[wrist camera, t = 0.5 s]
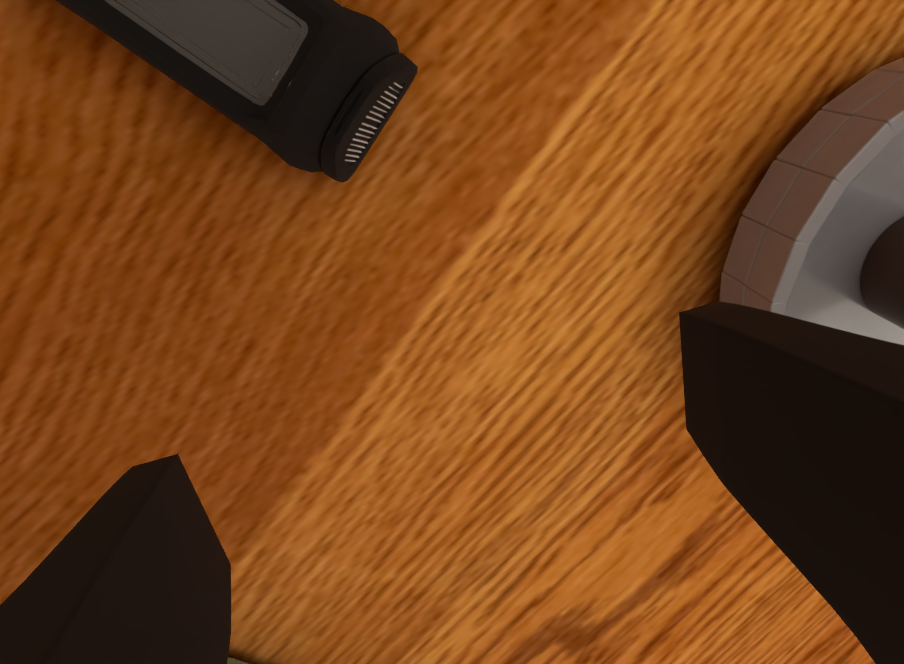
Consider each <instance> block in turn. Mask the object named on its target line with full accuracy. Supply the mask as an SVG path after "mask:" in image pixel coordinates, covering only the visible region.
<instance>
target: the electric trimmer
mask: <svg viewBox="0 0 904 664" xmlns="http://www.w3.org/2000/svg"><path fill="white" fill-rule="evenodd" d="M56 1H57V2H59V3H61V4H62V5H64V6H65V7H67V8H68V9H70V10H71V11H73V12H74V13H76V14H77V15H79V16H80V17H82V18H83V19H85V20H86V21H88V22H90V23H91V24H93V25H94V26H96V27H97V28H98V29H100V30H101V31H103V32H104V33H106V34H107V35H109V36H110V37H112V38H113V39H114V40H116V41H117V42H119V43H120V44H122V45H123V46H125V47H126V48H128V49H129V50H130V51H132V52H133V53H135V54H136V55H138V56H139V57H141V58H142V59H144V60H145V61H146V62H148V63H149V64H151V65H152V66H154V67H155V68H157V69H158V70H160V71H161V72H162V73H164V74H165V75H167V76H168V77H170V78H171V79H173V80H174V81H176V82H177V83H178V84H180V85H181V86H183V87H184V88H186V89H187V90H189V91H190V92H192V93H193V94H194V95H196V96H197V97H199V98H200V99H202V100H203V101H205V102H206V103H208V104H209V105H210V106H212V107H213V108H215V109H216V110H218V111H219V112H221V113H222V114H224V115H225V116H226V117H228V118H229V119H231V120H232V121H234V122H235V123H237V124H238V125H240V126H241V127H242V128H244V129H245V130H247V131H248V132H250V133H251V134H253V135H254V136H256V137H257V138H258V139H260V140H261V141H263V142H264V143H265V144H266V145H267V146H268V147H270V148H271V149H272V150H273V151H274V152H275V153H276V154H277V155H278V156H280V157H281V158H282V159H283V160H284V161H285V162H286V163H288V164H289V165H291V166H294V167H296V168H299V169H303V170H306V171H309V172H321V171H323V172H324V173H325V174H326V175H328V176H330V177H331V178H333V179H334V180H337V181H340V182H345V181H347V180H348V179H349V178H350V177H351V176H352V175H353V173H354V172H355V171H356V169H357V167H358V166H359V164H360V163H361V161H362V160H363V158H364V157H365V155H366V153H367V152H368V150H369V149H370V147H371V146H372V144H373V142H374V141H375V139H376V138H377V136H378V135H379V133H380V132H381V130H382V128H383V127H384V125H385V124H386V122H387V121H388V119H389V117H390V116H391V114H392V113H393V111H394V110H395V108H396V106H397V105H398V103H399V102H400V100H401V99H402V97H403V96H404V94H405V92H406V91H407V89H408V88H409V86H410V85H411V83H412V81H413V80H414V78H415V76H416V74H417V68H418V67H417V66H416V65H415V64H414V63H413V62H412V61H411V60H409V59H408V58H407V57H406V56H405V55H404V54H401V53H399V48H398V44H397V40H396V38H395V37H394V36H393V35H392V34H391V33H390V32H389V31H388V30H387V29H386V28H385V27H384V26H383V25H382V24H380V23H379V22H377V21H376V20H374V19H373V18H371V17H368V16H366V15H363V14H360V13H358V12H355V11H352V10H350V9H347V8H344V7H342V6H341V5H339V4H338V3H336V2H335V1H333V0H56Z"/></svg>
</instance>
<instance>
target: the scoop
mask: <svg viewBox="0 0 904 664" xmlns="http://www.w3.org/2000/svg"><path fill="white" fill-rule="evenodd" d="M860 289H861V295H862V298H863V300H864V302H865V304H866V305H867V307H868V308H869V309H870V310H871V311H872V312H873V313H875V314H876V315H878V316H880V317H882V318H884V319H886V320H887V321H889V322H891V323H893V324H895V325H897V326H898V327H900V328H902V329H904V217H903V218H901V219H900V220H898V221H896V222H895V223H894V224H892V225H891V226H890V227H889V228H888V229H887V230H886V231H884V232H883V234H882V235H881V236H880V237H879V238H878V239H877V241H876V242H875V243H874V245H873V246H872V248H871V249H870V251H869V253H868V255H867V257H866V259H865V262H864V264H863V267H862V271H861V277H860Z"/></svg>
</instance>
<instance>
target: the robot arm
mask: <svg viewBox="0 0 904 664" xmlns="http://www.w3.org/2000/svg"><path fill="white" fill-rule="evenodd" d="M679 318H680V334H681V349H682V365H683V381H684V397H685V413H686V428H687V431H688V432H689V434H690V435H691V437H692V438H693V440H694V441H695V443H696V445H697V446H698V448H699V449H700V451H701V452H702V454H703V456H704V457H705V459H706V460H707V462H708V463H709V464H710V466H711V467H712V469H713V470H714V472H715V473H716V475H717V476H718V478H719V479H720V480H721V482H722V483H723V484H724V486H725V487H726V488H727V489H728V490H729V491H730V493H731V494H732V495H733V496H734V497H735V498H736V500H737V501H738V502H739V503H740V504H741V505H742V506H743V508H744V509H745V510H746V511H747V512H748V513H749V514H750V516H751V517H752V518H753V519H754V520H755V521H756V522H757V524H758V525H759V526H760V527H761V528H762V529H763V530H764V531H765V533H766V534H767V535H768V536H769V537H770V538H771V539H772V540H773V541H774V543H775V544H776V545H777V546H778V547H779V548H780V549H781V550H782V552H783V553H784V554H785V555H786V556H787V557H788V558H789V559H790V561H791V562H792V563H793V564H794V565H795V566H796V567H797V568H798V569H799V571H800V572H801V573H802V574H803V575H804V576H805V577H806V578H807V580H808V581H809V582H810V583H811V584H812V585H813V586H814V587H815V589H816V590H817V591H818V592H819V593H820V594H821V595H822V596H823V597H824V599H825V600H826V601H827V602H828V603H829V604H830V605H831V607H832V608H833V609H834V610H835V611H836V613H837V614H838V615H839V616H840V617H841V619H842V620H843V621H844V622H845V624H846V625H847V626H848V627H849V628H850V630H851V631H852V632H853V633H854V635H855V636H856V637H857V638H858V640H859V641H860V643H861V644H862V645H863V647H864V648H865V649H866V651H867V652H868V653H869V655H870V656H871V658H872V659H873V660H874V662H875V663H876V664H904V345H901V344H896V343H892V342H888V341H884V340H879V339H875V338H871V337H867V336H863V335H859V334H855V333H851V332H847V331H843V330H839V329H835V328H831V327H828V326H824V325H820V324H816V323H812V322H808V321H805V320H801V319H797V318H793V317H789V316H785V315H782V314H778V313H774V312H770V311H766V310H761V309H757V308H753V307H749V306H744V305H739V304H734V303H728V302H721V301H718V302H715V303H711V304H708V305H704V306H701V307H697V308H693V309H690V310H686V311H683V312H679ZM230 635H231V564H230V562H229V560H228V558H227V556H226V554H225V552H224V550H223V548H222V546H221V544H220V541H219V539H218V537H217V535H216V533H215V531H214V529H213V527H212V525H211V523H210V521H209V518H208V516H207V514H206V512H205V510H204V508H203V506H202V504H201V502H200V500H199V498H198V495H197V493H196V491H195V489H194V487H193V485H192V483H191V481H190V479H189V477H188V475H187V472H186V470H185V468H184V466H183V464H182V462H181V460H180V458H179V456H178V454H176V455H172V456H169V457H165V458H162V459H158V460H154V461H151V462H147V463H144V464H140V465H137V466H133V467H132V468H131V469H129V470H128V471H127V472H126V473H125V474H124V475H123V476H122V477H121V478H120V479H119V480H118V481H117V482H116V483H115V484H114V485H113V486H112V487H111V488H110V489H109V490H108V491H107V492H106V493H105V494H104V495H103V496H102V497H101V498H100V499H99V500H98V502H97V503H96V504H95V505H94V506H93V507H92V508H91V509H90V510H89V511H88V512H87V513H86V515H85V516H84V517H83V518H82V519H81V520H80V521H79V522H78V523H77V524H76V526H75V527H74V528H73V529H72V530H71V531H70V532H69V533H68V534H67V535H66V536H65V538H64V539H63V540H62V541H61V542H60V543H59V544H58V545H57V546H56V547H55V548H54V549H53V551H52V552H51V553H50V554H49V555H48V556H47V557H46V558H45V559H44V560H43V561H42V562H41V564H40V565H39V566H38V567H37V568H36V569H35V570H34V571H33V572H32V573H31V574H30V575H29V576H28V578H27V579H26V580H25V581H24V582H23V583H22V584H21V585H20V586H19V587H18V588H17V589H16V590H15V591H14V592H13V593H12V594H11V595H10V596H9V597H8V598H7V599H6V600H5V601H4V602H3V603H2V604H1V605H0V664H227V660H228V652H229V644H230Z"/></svg>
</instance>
